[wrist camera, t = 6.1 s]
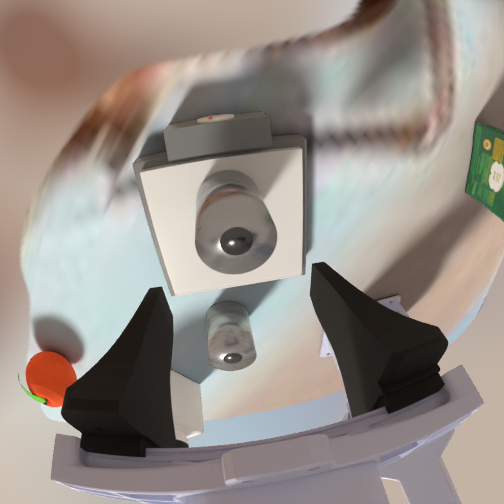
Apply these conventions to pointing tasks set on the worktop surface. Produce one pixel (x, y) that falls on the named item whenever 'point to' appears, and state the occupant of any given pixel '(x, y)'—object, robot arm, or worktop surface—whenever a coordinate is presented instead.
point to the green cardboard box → (487, 169)
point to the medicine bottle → (185, 408)
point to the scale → (207, 163)
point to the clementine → (49, 378)
